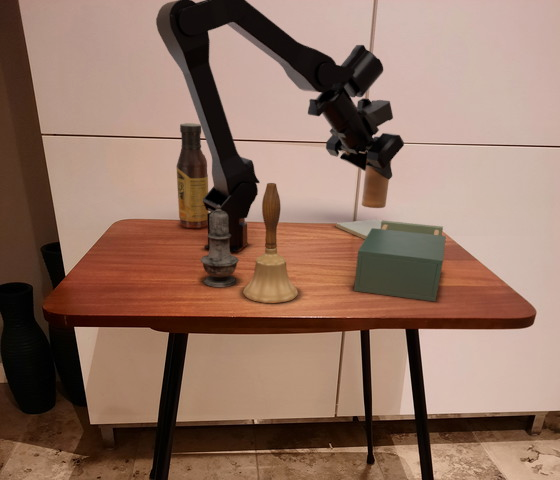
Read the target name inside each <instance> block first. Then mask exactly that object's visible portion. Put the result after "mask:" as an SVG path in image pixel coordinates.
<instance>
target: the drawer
mask: <svg viewBox="0 0 560 480" xmlns="http://www.w3.org/2000/svg"><path fill="white" fill-rule="evenodd" d="M381 221H382V222H381V229H384V230H393V231H403V232H412V233H422V234H431V235H441V236H443V231H444V226H443V225H442V226H441V225H433V224H432V225H431V224H421V223H413V222H402V221H391V220H381Z"/></svg>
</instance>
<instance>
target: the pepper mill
mask: <svg viewBox="0 0 560 480" xmlns="http://www.w3.org/2000/svg"><path fill="white" fill-rule="evenodd" d="M380 136H381V135H373V138H376V139H378V138H379V137H380ZM367 152H368V151H367ZM367 163H368V160H366V164H367ZM390 165H391V166H392V160H391V161H390ZM389 182H390V179H389V180H388V179H386V178H385V177H383V176H382V175H380V174H379V173H377V172H376V171H374V170H372V169H371V168H369V167H368V166H366V169H365V171H364V180H363V188H362V198H361V206H362V207H364V208H369V209H383V208H386V206H387V205H386V203H387V198H388V190H389V184H390V183H389Z"/></svg>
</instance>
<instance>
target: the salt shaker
mask: <svg viewBox="0 0 560 480" xmlns="http://www.w3.org/2000/svg"><path fill="white" fill-rule="evenodd" d="M220 208H221V207H220V205H219V204H218V205H217V210H215V211H213V212H211V213H210V212H209V213H210V215H209V225H210V233H209V234H208V233H207V234H206V236H207V238H208V237H209V242H210V249H209V250H208V254H207V255H204V256H202V257H201V259H200V262H201V263H202V267H203V270H204V272H205V273H207V274H208V275H207V276H206V277H205V278H203V280H202V281H203V284H204V285H206V286H209V287H213V288H228V287H232V286H234V285H237V283H238V280H237V278H235V277H234V276H232V275H233V274H234V273H235V271H236V269H237V266H238V263H239V257H237V256H236V255H233V254H231V253H232V252H230V249H229V238H230V237H231V234H229V218H228V214H227V213H226V212H224V211H222V210H221V209H220Z"/></svg>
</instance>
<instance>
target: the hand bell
mask: <svg viewBox="0 0 560 480" xmlns="http://www.w3.org/2000/svg"><path fill="white" fill-rule="evenodd" d="M261 203H262V204H261V209H262V210H261V213H262V219H263V223H264V226H265V241H264V243H265V245H264V248H265V249H264V253H263V254H261V255H259V256H257V258H256V259H255V265H254V272H253V275H252V277H251V280H250V281H249V282H248V284H247V285H245V286H244V289H243V290H242V293H243V296H244V297H246V298H247V299H249V300H251V301H254V302H258V303H265V304H279V303H285V302H290V301H292V300H294V299H295V298H296V297H298V295H299V291H298V289H297V287H296V286H295V285H294V284H293V283H292V281H291V280H290V277H289V273H288V267H287V260H286V258H285V257H284V256H283V255H281V254H278V244H277V241H278V239H277V229H278V224H279V221H280V217H281V198H280V194H279V191H278V187H277V183H275V182H268V183H266V187H265V191H264V194H263V197H262V202H261Z"/></svg>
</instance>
